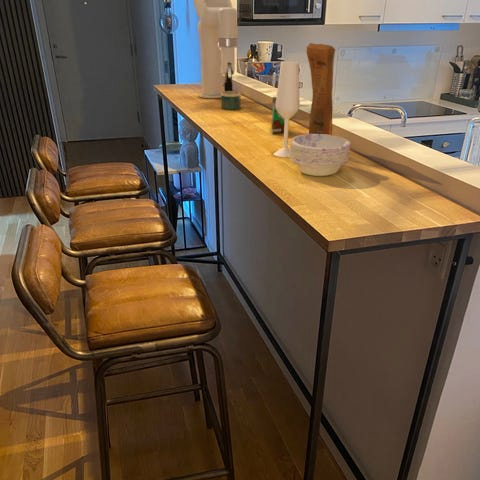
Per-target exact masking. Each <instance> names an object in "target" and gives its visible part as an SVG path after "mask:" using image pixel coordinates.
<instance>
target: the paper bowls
mask: <svg viewBox="0 0 480 480" xmlns="http://www.w3.org/2000/svg"><path fill="white" fill-rule="evenodd" d="M289 144H290V145H289V146H290V147H289V149H290V157H289V161H290V162H291V163H294V164H295V165H296V167H297V170H298V171H299V172H301V173H302V174H305V175H307V176H312V177H313V176H314V177H328V176H333V175H334V174H337V172H338V171H339V170H340V168H341V166H344V165H346V164H348V162H349V159H350V158H349V157H350V152H351V141H350V140H349V139H347V138H345V137H342V136H339V135H334V134H332V135H327V134H309V133H307V134H300V135H296V136H294V137H292V138H291V140H290V143H289Z"/></svg>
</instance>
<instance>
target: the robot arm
mask: <svg viewBox="0 0 480 480" xmlns="http://www.w3.org/2000/svg"><path fill="white" fill-rule="evenodd" d="M192 2H193V5H194V9H195V13H196V15H197V17H198V18H199V21H198V23H197V34H198V40H199V47H200V68H201V71H200V72H201V92H200V93H198V97H199V98H202V99H221V92H223V90H224V91H233V75H234V74H235V67H236V65H235V64H236V63H235V62H236V60H235V57H236V56H235V54H236V53H235V49H236V48H238V35H239V28H238V10H237V8H234V7H233V5H232V2H231V0H192ZM217 43H218V44H217ZM223 76H224V88H223Z"/></svg>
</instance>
